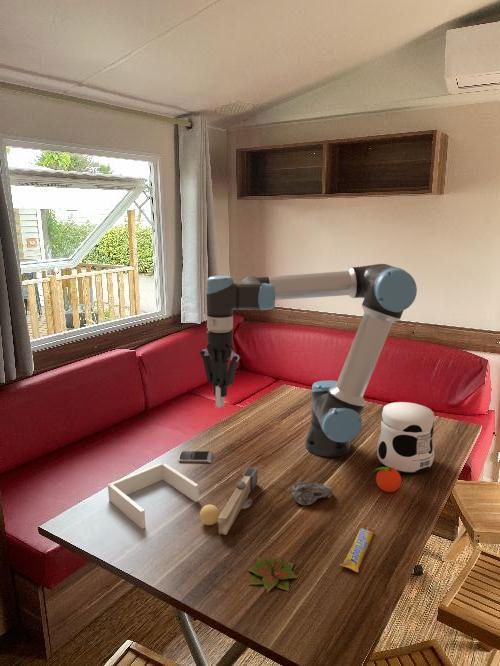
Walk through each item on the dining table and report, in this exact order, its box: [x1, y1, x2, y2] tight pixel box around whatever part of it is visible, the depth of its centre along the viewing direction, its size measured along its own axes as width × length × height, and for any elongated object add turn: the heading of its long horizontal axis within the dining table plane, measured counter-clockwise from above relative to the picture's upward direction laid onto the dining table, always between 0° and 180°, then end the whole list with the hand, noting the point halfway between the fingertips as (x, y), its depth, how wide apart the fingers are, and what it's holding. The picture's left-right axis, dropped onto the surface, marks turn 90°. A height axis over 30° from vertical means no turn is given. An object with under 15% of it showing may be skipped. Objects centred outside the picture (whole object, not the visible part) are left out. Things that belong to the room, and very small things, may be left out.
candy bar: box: [339, 525, 375, 573], centre depth 116 cm, size 17×4×2 cm, turn 152°
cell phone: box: [177, 450, 214, 464], centre depth 160 cm, size 6×11×1 cm, turn 88°
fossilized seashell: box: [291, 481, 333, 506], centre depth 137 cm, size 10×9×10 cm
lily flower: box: [247, 554, 299, 594], centre depth 108 cm, size 12×12×5 cm
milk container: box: [376, 401, 435, 474], centre depth 153 cm, size 17×17×18 cm
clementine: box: [372, 466, 402, 493], centre depth 140 cm, size 8×7×7 cm
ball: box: [199, 504, 220, 526], centre depth 126 cm, size 5×5×5 cm
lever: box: [218, 466, 258, 536], centre depth 132 cm, size 3×26×5 cm, turn 163°
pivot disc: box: [240, 496, 253, 510], centre depth 135 cm, size 6×6×1 cm
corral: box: [107, 461, 200, 530], centre depth 136 cm, size 18×18×5 cm
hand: (220, 405), depth 147 cm, fingers closed
